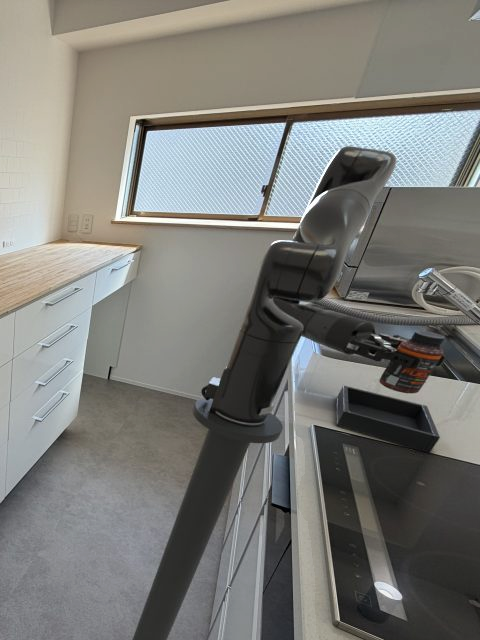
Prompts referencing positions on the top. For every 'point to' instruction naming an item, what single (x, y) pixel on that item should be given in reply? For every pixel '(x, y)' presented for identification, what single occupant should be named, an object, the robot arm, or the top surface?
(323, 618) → the top surface
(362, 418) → the bin
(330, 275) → the robot arm
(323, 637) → the top surface
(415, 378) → the supplement bottle
